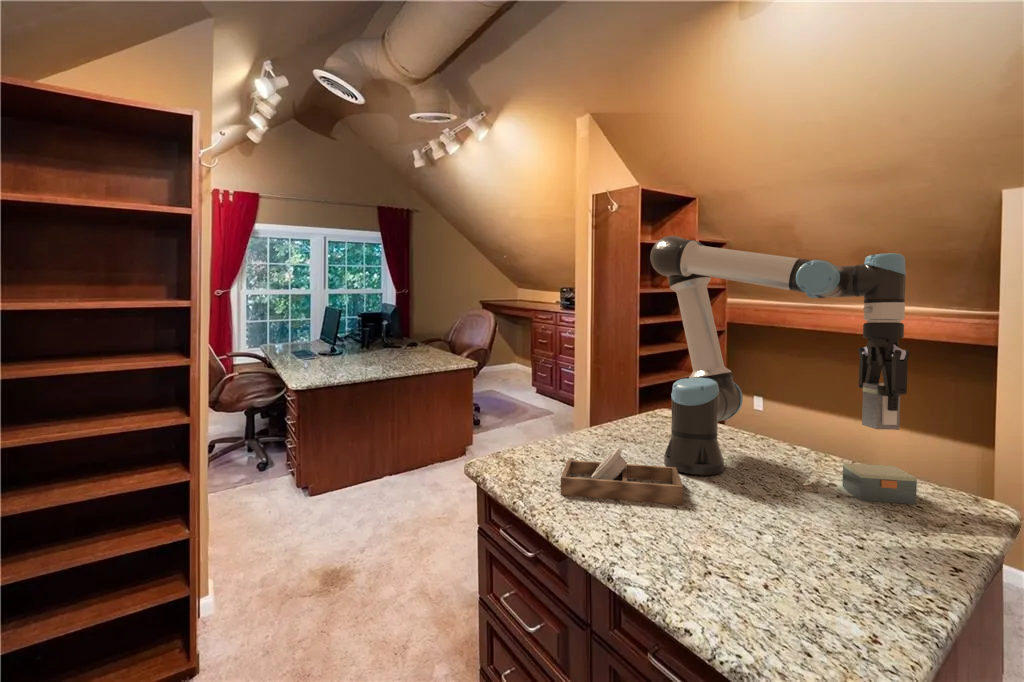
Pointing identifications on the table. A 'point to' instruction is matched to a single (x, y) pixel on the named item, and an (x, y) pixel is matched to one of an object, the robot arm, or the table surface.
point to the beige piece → (610, 466)
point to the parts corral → (624, 483)
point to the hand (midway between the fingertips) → (880, 421)
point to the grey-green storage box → (879, 483)
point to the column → (875, 407)
